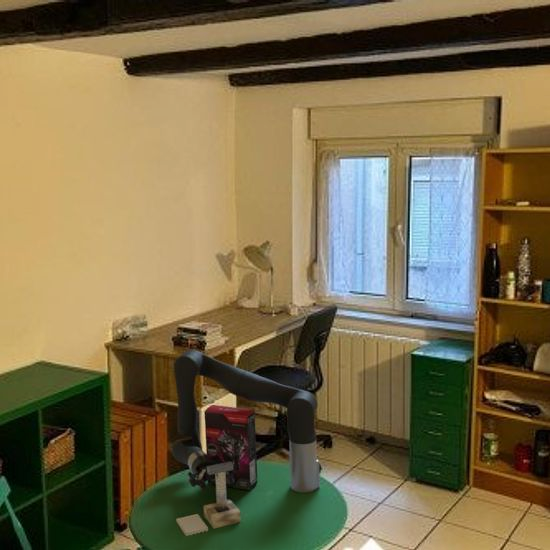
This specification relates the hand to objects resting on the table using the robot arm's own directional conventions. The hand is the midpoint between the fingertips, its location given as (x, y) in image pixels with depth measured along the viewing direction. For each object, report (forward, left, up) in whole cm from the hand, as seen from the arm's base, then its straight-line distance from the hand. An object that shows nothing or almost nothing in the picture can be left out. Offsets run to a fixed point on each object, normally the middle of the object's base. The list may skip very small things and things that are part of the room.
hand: (218, 484), depth 227 cm
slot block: (0, +3, -11) cm, 11 cm away
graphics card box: (-12, -19, -11) cm, 25 cm away
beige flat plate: (+10, +3, -11) cm, 15 cm away
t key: (0, +3, -11) cm, 11 cm away
